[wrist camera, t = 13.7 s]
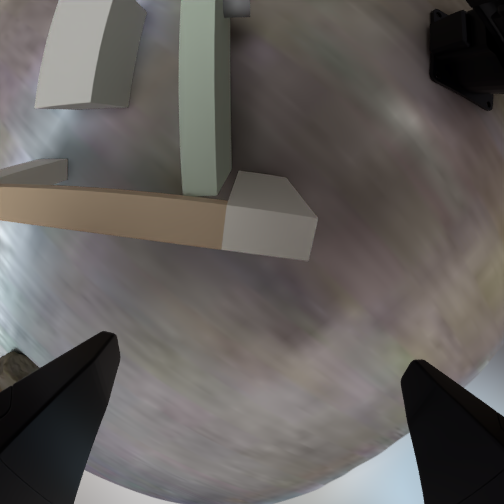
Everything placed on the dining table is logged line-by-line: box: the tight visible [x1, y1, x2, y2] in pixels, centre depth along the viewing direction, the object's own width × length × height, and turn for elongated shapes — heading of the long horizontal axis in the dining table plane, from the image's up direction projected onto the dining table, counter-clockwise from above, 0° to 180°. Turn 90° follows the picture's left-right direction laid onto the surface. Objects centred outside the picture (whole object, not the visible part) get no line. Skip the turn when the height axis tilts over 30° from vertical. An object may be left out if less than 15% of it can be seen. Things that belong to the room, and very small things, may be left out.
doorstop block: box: [35, 0, 147, 110], centre depth 12 cm, size 4×7×5 cm, turn 172°
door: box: [179, 0, 250, 197], centre depth 11 cm, size 10×2×8 cm, turn 1°
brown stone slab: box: [0, 351, 39, 392], centre depth 26 cm, size 17×15×4 cm
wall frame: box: [0, 159, 318, 261], centre depth 13 cm, size 18×2×9 cm, turn 82°
